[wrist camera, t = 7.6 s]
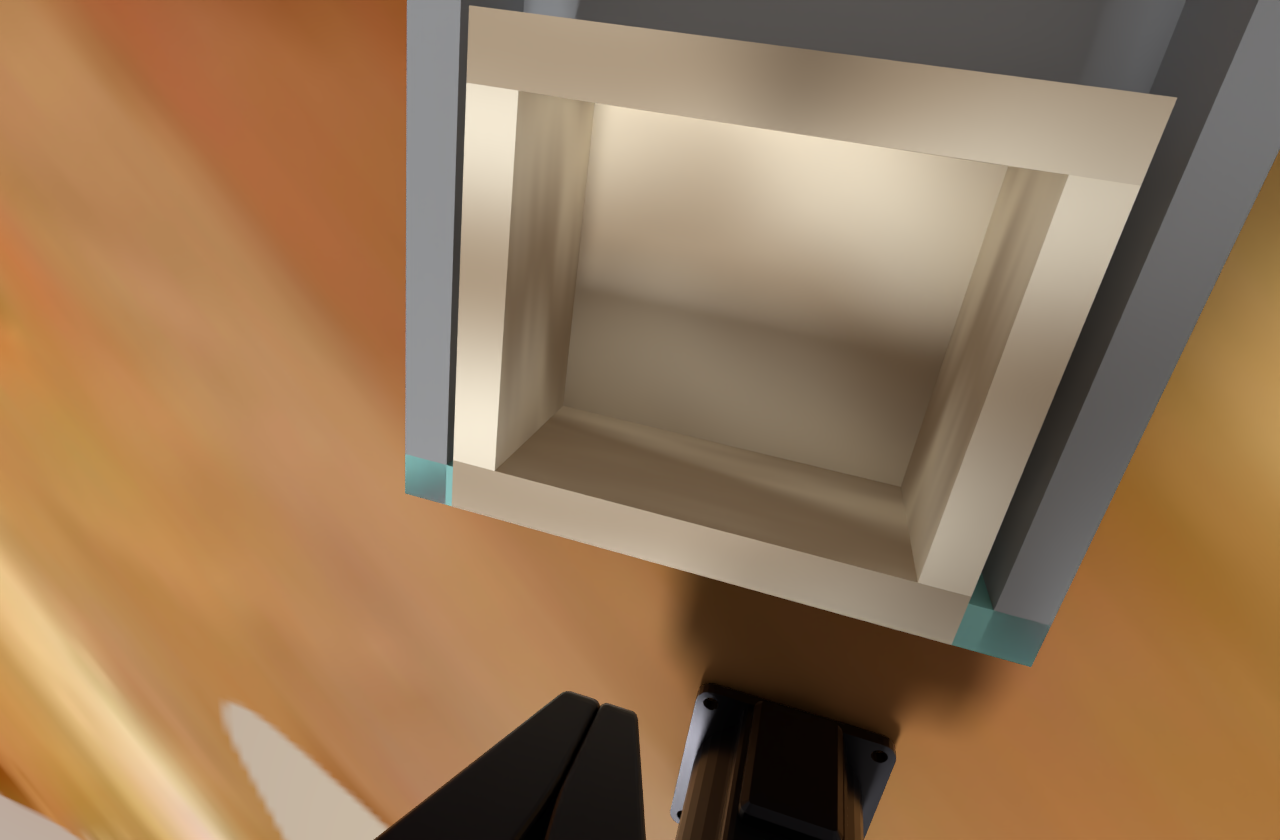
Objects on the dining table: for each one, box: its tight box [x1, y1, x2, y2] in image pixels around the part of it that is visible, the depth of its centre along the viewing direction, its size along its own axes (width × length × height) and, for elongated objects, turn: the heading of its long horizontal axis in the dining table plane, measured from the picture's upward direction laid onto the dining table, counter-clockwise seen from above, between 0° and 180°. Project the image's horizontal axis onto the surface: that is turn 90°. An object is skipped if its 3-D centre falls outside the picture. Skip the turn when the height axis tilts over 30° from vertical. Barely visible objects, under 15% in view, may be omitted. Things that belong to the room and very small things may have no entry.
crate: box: [452, 5, 1177, 645], centre depth 15 cm, size 10×11×5 cm
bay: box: [405, 0, 1280, 667], centre depth 15 cm, size 20×16×4 cm
